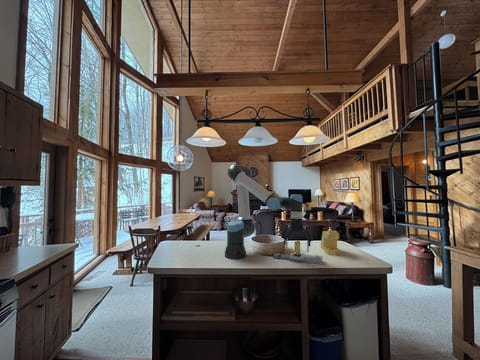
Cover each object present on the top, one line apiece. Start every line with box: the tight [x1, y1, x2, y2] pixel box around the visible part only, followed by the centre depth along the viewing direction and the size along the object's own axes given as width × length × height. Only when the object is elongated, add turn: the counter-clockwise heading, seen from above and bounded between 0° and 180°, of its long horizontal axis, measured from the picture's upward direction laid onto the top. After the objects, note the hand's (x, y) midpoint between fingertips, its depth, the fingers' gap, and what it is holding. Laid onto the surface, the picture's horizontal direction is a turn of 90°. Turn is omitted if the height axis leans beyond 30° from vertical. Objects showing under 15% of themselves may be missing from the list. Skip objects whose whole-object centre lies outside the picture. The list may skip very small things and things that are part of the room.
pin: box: [294, 240, 301, 256], centre depth 142 cm, size 4×4×12 cm
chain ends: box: [272, 252, 324, 265], centre depth 142 cm, size 31×9×4 cm, turn 68°
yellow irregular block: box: [320, 229, 340, 256], centre depth 161 cm, size 20×9×16 cm, turn 171°
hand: (297, 250), depth 142 cm, fingers open, 13 cm apart
